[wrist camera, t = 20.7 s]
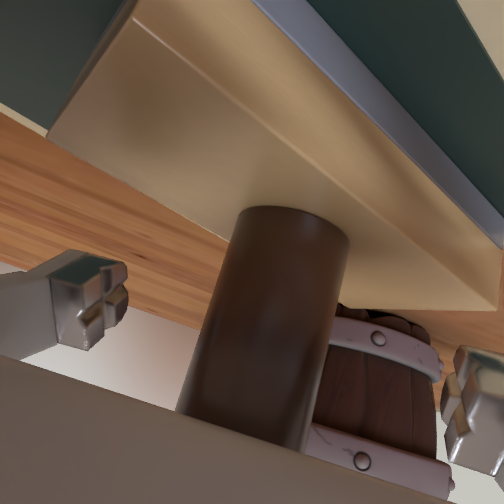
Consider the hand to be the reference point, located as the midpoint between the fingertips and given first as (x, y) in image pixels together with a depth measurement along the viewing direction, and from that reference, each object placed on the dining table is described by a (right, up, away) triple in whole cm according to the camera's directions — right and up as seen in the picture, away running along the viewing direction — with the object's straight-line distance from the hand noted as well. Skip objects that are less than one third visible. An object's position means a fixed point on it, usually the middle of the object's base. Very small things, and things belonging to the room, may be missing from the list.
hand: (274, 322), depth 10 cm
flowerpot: (+8, -4, +22) cm, 24 cm away
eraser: (+1, +5, +1) cm, 5 cm away
